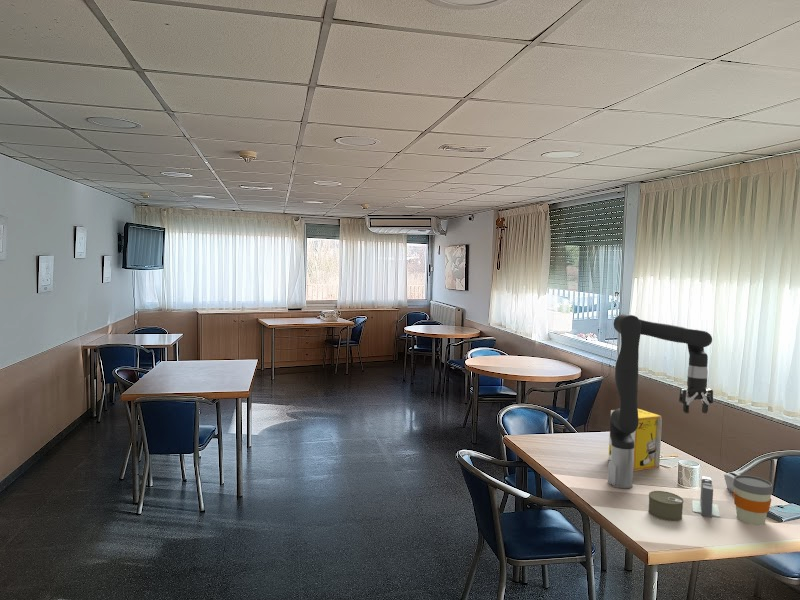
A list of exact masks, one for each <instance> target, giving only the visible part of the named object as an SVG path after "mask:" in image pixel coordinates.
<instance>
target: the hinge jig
mask: <svg viewBox="0 0 800 600" xmlns="http://www.w3.org/2000/svg"><path fill="white" fill-rule="evenodd" d="M713 500H714V486H713V484H712V485H711V484H709V483H703V485H702V503H701V505H700V500H695V499H692V501H691V502H692V512H693V513H698V514H701V515H700V516H702V517H707V518H711V519H712V517H717V518H721V516H720V510H719V505H718V504H716V503H714V502H713Z"/></svg>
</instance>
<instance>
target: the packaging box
mask: <svg viewBox="0 0 800 600" xmlns="http://www.w3.org/2000/svg"><path fill="white" fill-rule="evenodd" d="M614 410H615V409H611V410H610V415H611V414H612V412H613V411H614ZM662 418H663V416H662V415H660V414H657V413H654V412H649V411H647V410H644V409H641V408H638V419H639V423H638V427H637V429H636V431H635V432H633V433H631V436H632V439H633V440H634V460H633V472H636V471H641V470H642V471H643V470H648V469H649V470H650V469H654V468H660V462H661V461H660V460H661V443H662V442H661V440H662V424H663V422H662V421H663V420H662ZM608 445H609V447H608V460H609V461H611V438H610V437H609V443H608Z"/></svg>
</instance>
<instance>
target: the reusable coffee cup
mask: <svg viewBox="0 0 800 600" xmlns="http://www.w3.org/2000/svg"><path fill="white" fill-rule="evenodd" d="M733 485H734V492H732V493H733V502H734V505H735V511H736V518H737V519H738V520H739V521H741V522H744V523H746V524H749V525H752V526H753V525H754V526H764V525H765V524H766V519H767V514H768V513H769V512H770V508H771V503H772V498H771V497H772V494H773V493H774V492H773V490H774V489H773V484H772V483H771V482H770V481H769V480H766V479H764V478H761V477H758V476H753V475H746V474H740V475H737V476H735V477H734V482H733Z"/></svg>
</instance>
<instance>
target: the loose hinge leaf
mask: <svg viewBox="0 0 800 600" xmlns="http://www.w3.org/2000/svg"><path fill="white" fill-rule="evenodd" d="M700 481H701V483H700V500H699V501H700V505H701V503H702V485H703V483H709V484H711V485H713V479H712V477H710V476H704V475H701V479H700Z"/></svg>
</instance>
